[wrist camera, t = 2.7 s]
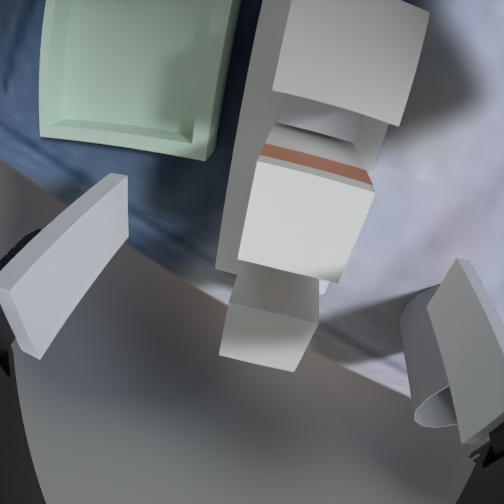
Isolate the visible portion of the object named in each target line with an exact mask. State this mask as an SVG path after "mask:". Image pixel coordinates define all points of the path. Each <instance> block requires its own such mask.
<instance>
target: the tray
mask: <svg viewBox="0 0 504 504" xmlns="http://www.w3.org/2000/svg"><path fill="white" fill-rule="evenodd" d="M241 3H242V0H46V4H45V11H44V19H43V28H42V38H41V51H40V69H39V123H40V137H48V138H58V139H67V140H75V141H84V142H91V143H99V144H106V145H113V146H120V147H127V148H133V149H140V150H146V151H152V152H158V153H163V154H169V155H174V156H180V157H185V158H191V159H196V160H201V161H206V160H207V159H208V158H209V156H210V155H211V154H212V153H213V152H214V151H215V149H216V142H217V135H218V129H219V123H220V116H221V110H222V104H223V98H224V92H225V86H226V81H227V75H228V70H229V64H230V59H231V53H232V48H233V43H234V38H235V32H236V27H237V22H238V18H239V13H240V8H241Z"/></svg>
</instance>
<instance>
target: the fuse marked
mask: <svg viewBox="0 0 504 504" xmlns="http://www.w3.org/2000/svg"><path fill="white" fill-rule="evenodd" d="M278 117H279V115H278V116H277V118H276V120H275V123H274V125H273V127H272V129H271V131H270V134H269V136H268V138H267V140H266V142H265V144H264V146H263V148H262V151H261V153H260V155H259V158H258V160H257V164H256V169H255V174H254V179H253V184H252V188H251V193H250V198H249V203H248V208H247V213H246V218H245V223H244V228H243V233H242V238H241V243H240V248H239V253H238V258H237V259H239V260H243V261H247V262H251V263H255V264H259V265H264V266H268V267H272V268H276V269H280V270H284V271H288V272H292V273H297V274H301V275H305V276H309V277H313V278H317V279H322V280H326V281H330V282H334V283H338V282H339V279H340V277H341V275H342V273H343V270H344V268H345V266H346V264H347V261H348V259H349V257H350V254H351V252H352V250H353V247H354V245H355V243H356V240H357V238H358V236H359V233H360V231H361V228H362V226H363V223H364V221H365V219H366V216H367V214H368V211H369V208H370V206H371V203H372V201H373V198H374V196H375V193H376V192H375V190H374V188H373V185H372V182H371V180H370V178H369V176H368V173H367V171H366V170H365V167H364V165H363V163H362V161H361V159H360V157H359V154H358V152H357V150H356V148H355V146H354V144H353V143H352V142H349V141H346V140H342V139H339V138H335V137H332V136H328V135H325V134H321V133H317V132H314V131H310V130H306V129H302V128H298V127H294V126H290V125H286V124H282V123H277V121H278Z"/></svg>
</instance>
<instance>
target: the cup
mask: <svg viewBox="0 0 504 504" xmlns="http://www.w3.org/2000/svg"><path fill="white" fill-rule="evenodd" d="M440 285H441V284H438V285H436V286H434V287H431V288H429V289H427V290H424V291H422V292H420V293H419V294H418V295H417V296H416V297H414V298H413V299H412V300H411V301H410V302H409V303H408V304H406V306H405V308H404V310H403V312H402V314H401V316H400V318H399V329H400V335H401V340H402V345H403V351H404V356H405V361H406V367H407V373H408V379H409V385H410V392H411V399H412V406H413V413H414V420H415V421H416V422H417V423H419V424H420V425H421V426H425V427H437V428H438V427H444V426H450V425H455V424H458V422H457V417H456V412H455V408H454V403H453V399H452V394H451V390H450V386H449V382H448V378H447V374H446V370H445V367H444V363H443V359H442V356H441V352H440V349H439V345H438V342H437V339H436V335H435V332H434V329H433V326H432V323H431V319H430V316H429V313H428V310H427V305H428V303H429V302H430V300H431V299H432V297H433V296H434V294H435V293H436V291H437V289H438V288H439V286H440Z"/></svg>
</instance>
